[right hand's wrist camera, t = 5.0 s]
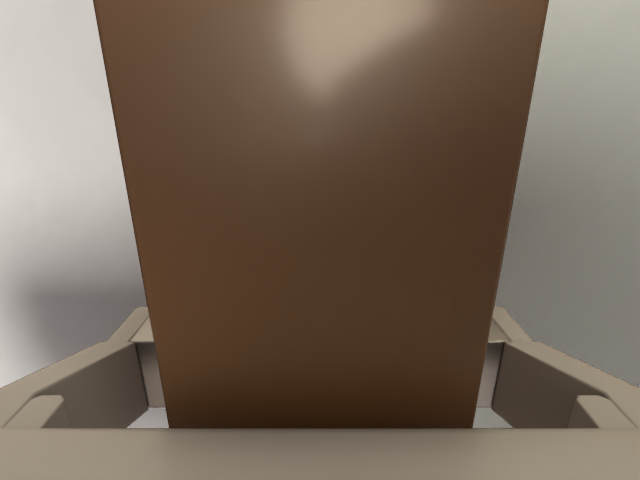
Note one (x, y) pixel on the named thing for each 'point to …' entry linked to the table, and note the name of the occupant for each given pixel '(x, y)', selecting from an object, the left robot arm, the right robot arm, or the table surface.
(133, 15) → the beam
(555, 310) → the table surface
